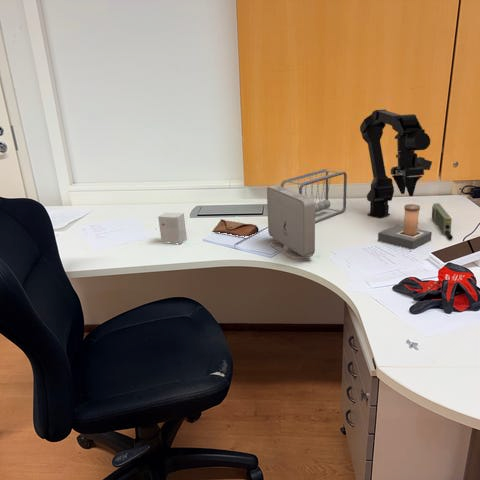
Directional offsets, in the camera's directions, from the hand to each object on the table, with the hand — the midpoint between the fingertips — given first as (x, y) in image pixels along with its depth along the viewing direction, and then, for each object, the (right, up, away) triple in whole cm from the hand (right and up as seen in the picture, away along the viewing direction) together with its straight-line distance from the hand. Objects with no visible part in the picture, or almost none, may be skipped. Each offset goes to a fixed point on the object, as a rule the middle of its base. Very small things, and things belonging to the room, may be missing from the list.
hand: (406, 195), depth 160 cm
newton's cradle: (-29, -7, +25) cm, 39 cm away
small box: (-85, -17, +6) cm, 87 cm away
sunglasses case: (-63, -14, +12) cm, 65 cm away
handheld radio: (+14, -13, +3) cm, 19 cm away
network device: (-43, -20, -8) cm, 48 cm away
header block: (-3, -16, -6) cm, 18 cm away
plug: (-2, -17, -9) cm, 20 cm away
